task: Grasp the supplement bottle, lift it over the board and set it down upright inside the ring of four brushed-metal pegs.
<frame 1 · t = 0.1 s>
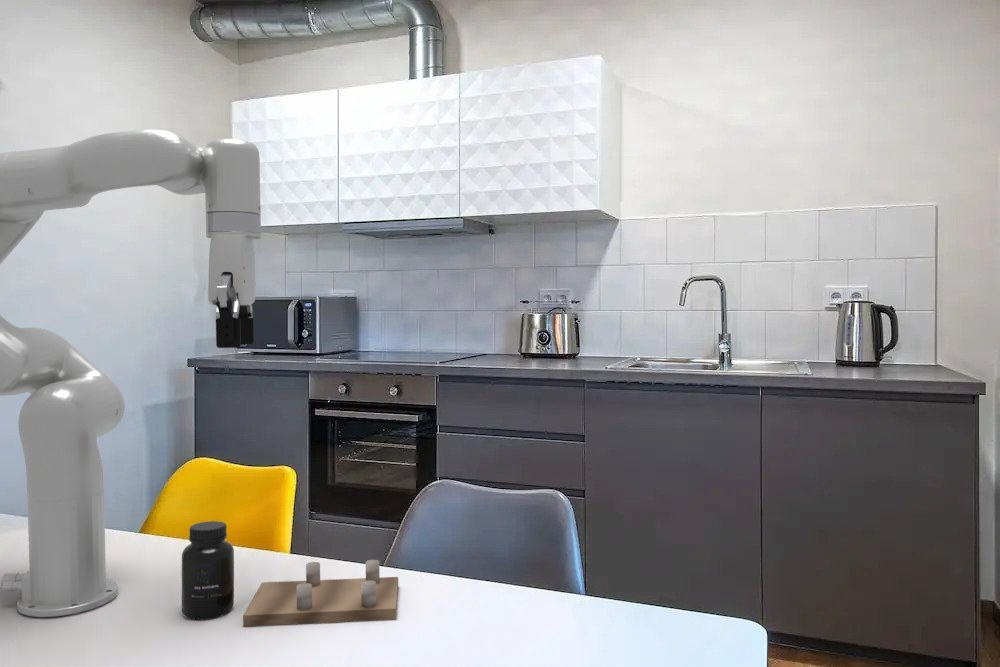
hand: (236, 345, 110), 37 cm above the table, tool pointing down, fingers open, 9 cm apart
peg board: (325, 605, 107), on the table
supplement bottle: (208, 612, 105), on the table
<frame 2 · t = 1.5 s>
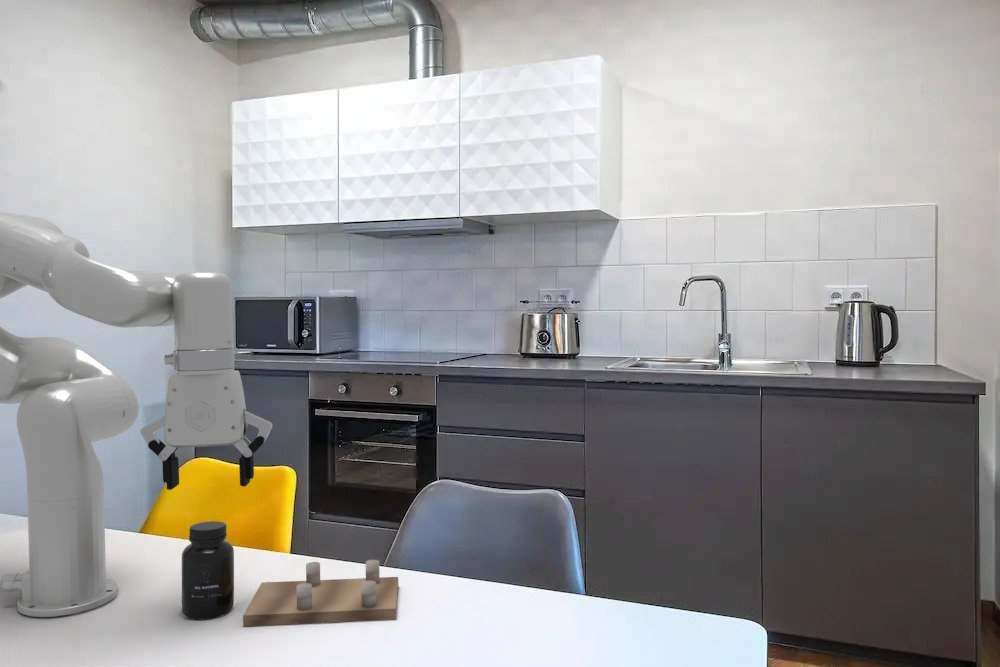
hand: (209, 485, 105), 18 cm above the table, tool pointing down, fingers open, 9 cm apart
nothing on the table moved.
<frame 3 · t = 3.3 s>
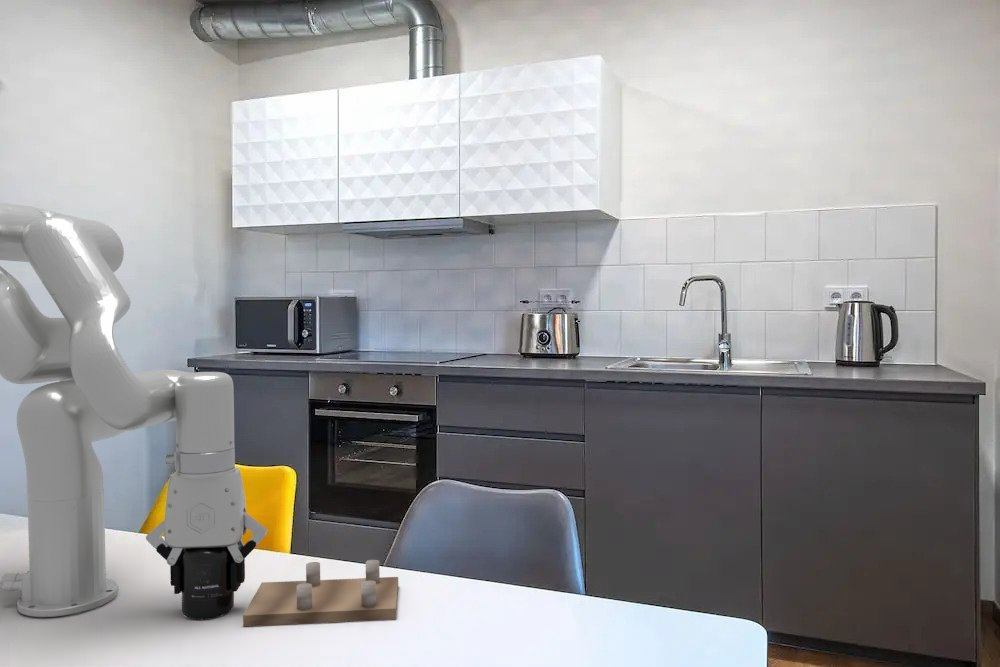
hand: (208, 588, 105), 3 cm above the table, tool pointing down, fingers closed on supplement bottle, 6 cm apart
supplement bottle: (208, 612, 105), on the table, touching gripper
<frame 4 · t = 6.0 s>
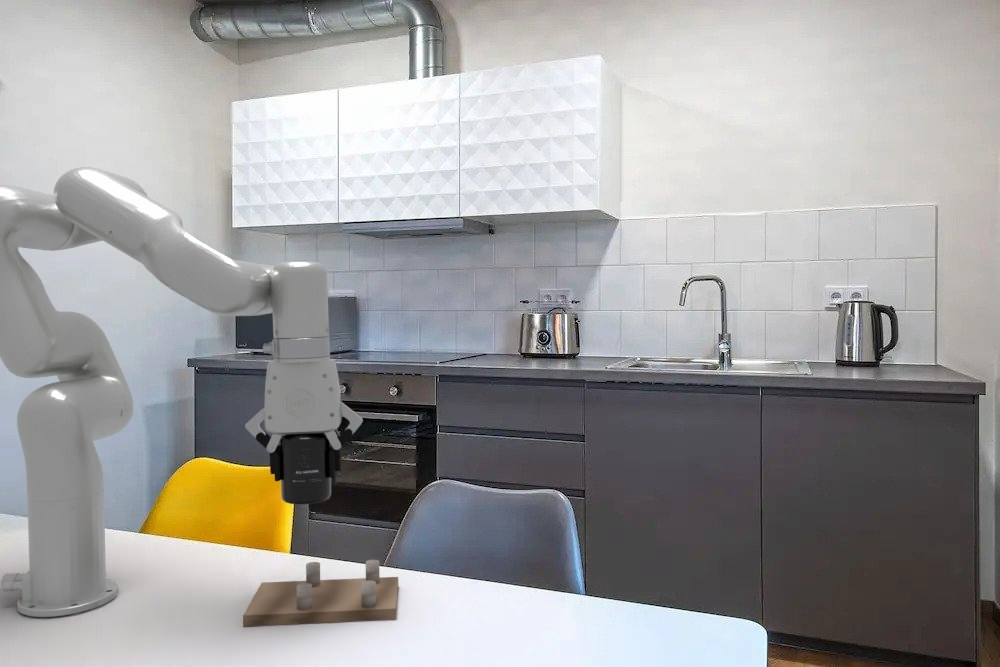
hand: (306, 476, 106), 18 cm above the table, tool pointing down, fingers closed on supplement bottle, 6 cm apart
supplement bottle: (307, 500, 106), point 15 cm above the table, touching gripper
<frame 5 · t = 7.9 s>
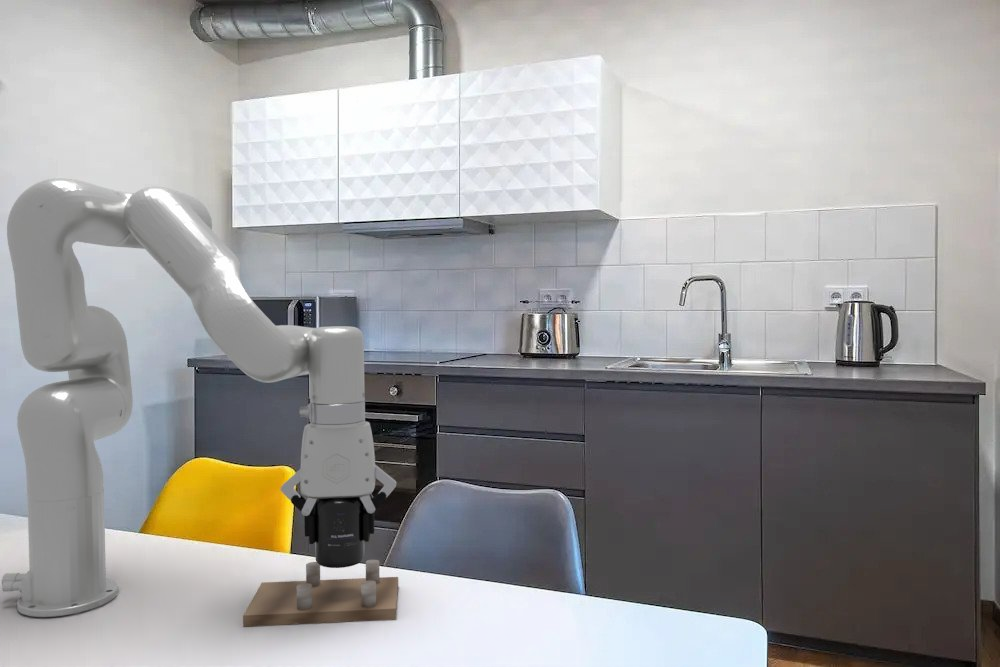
hand: (340, 539, 107), 9 cm above the table, tool pointing down, fingers closed on supplement bottle, 6 cm apart
supplement bottle: (340, 562, 107), point 6 cm above the table, touching gripper
when the fingers open (6 cm above the table, at t = 9.1 s): supplement bottle drops 2 cm, resting on peg board.
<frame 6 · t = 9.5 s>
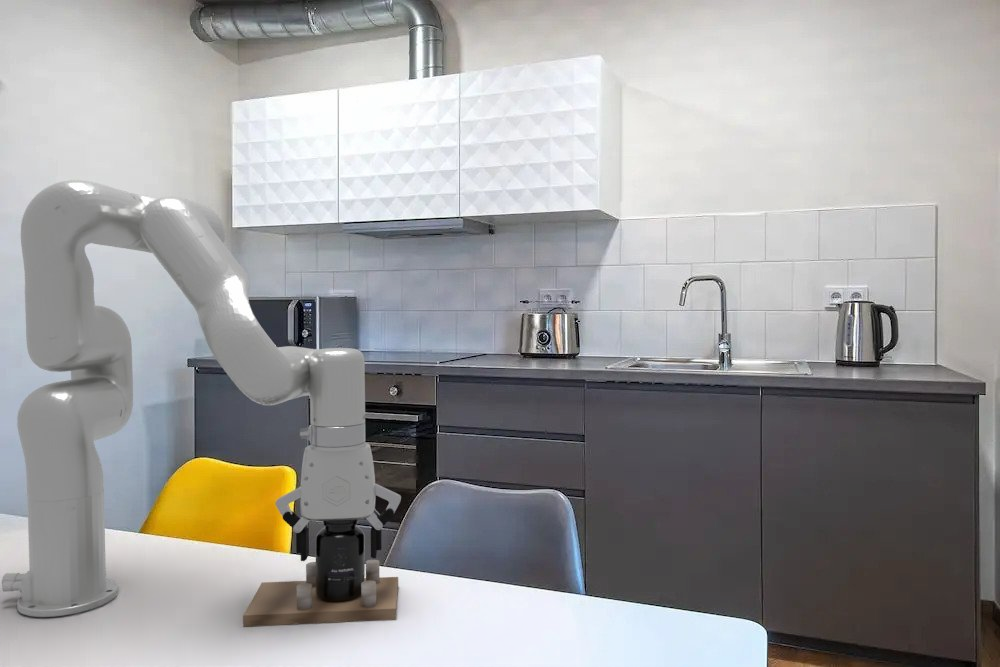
hand: (339, 556, 107), 7 cm above the table, tool pointing down, fingers open, 9 cm apart
supplement bottle: (340, 595, 107), point 1 cm above the table, touching peg board
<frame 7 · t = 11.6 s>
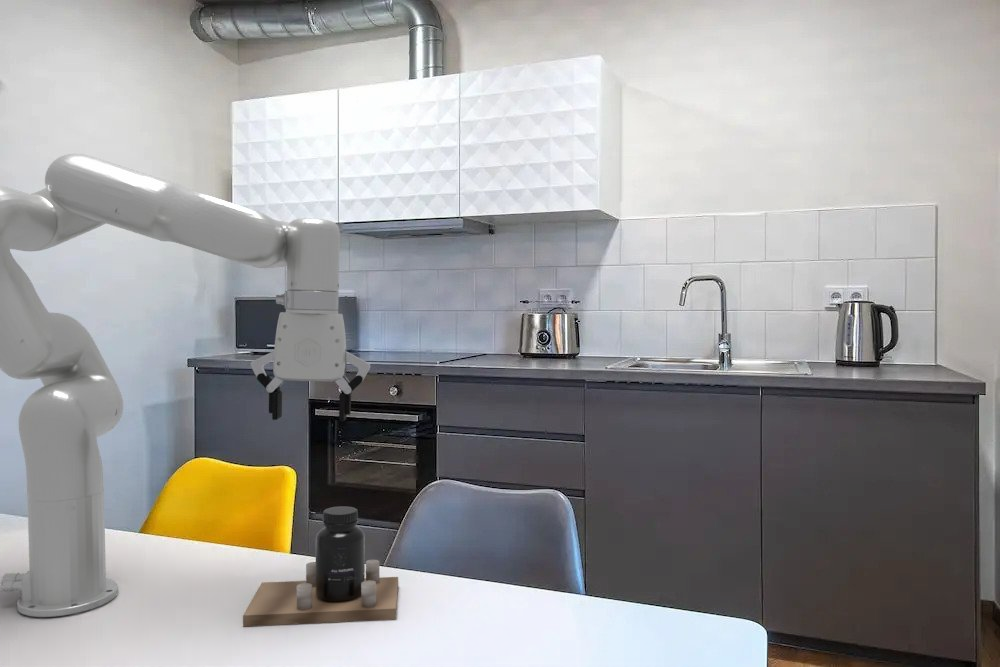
hand: (310, 419, 112), 26 cm above the table, tool pointing down, fingers open, 9 cm apart
nothing on the table moved.
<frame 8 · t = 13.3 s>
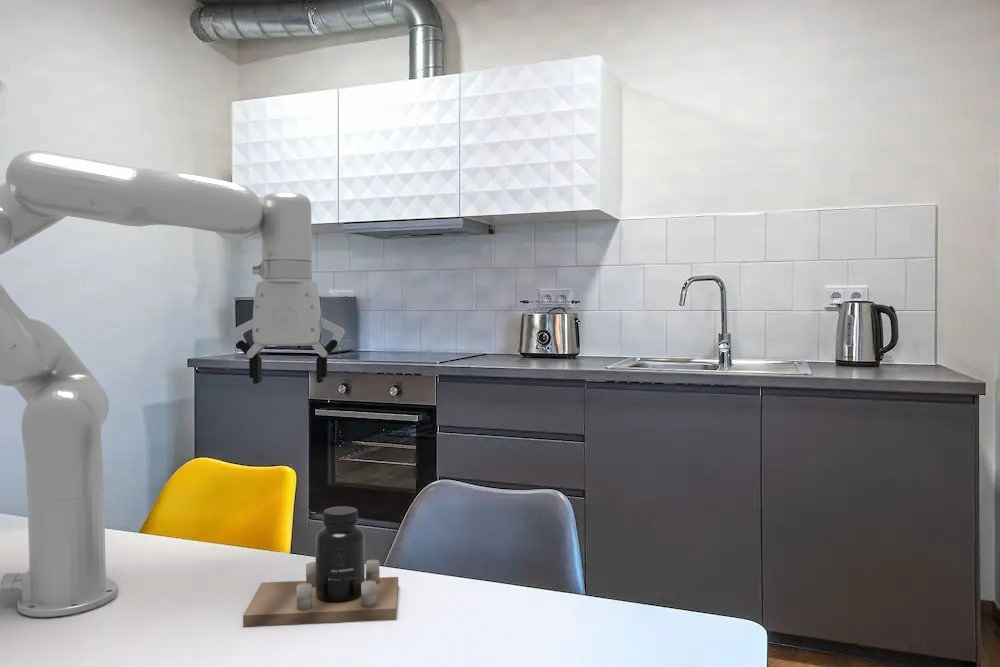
hand: (288, 382, 119), 30 cm above the table, tool pointing down, fingers open, 9 cm apart
nothing on the table moved.
at the end: supplement bottle 0.1 cm from the target spot on the peg board, point 1.3 cm above the peg board's base; supplement bottle tilted 0°; the gripper is holding nothing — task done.
